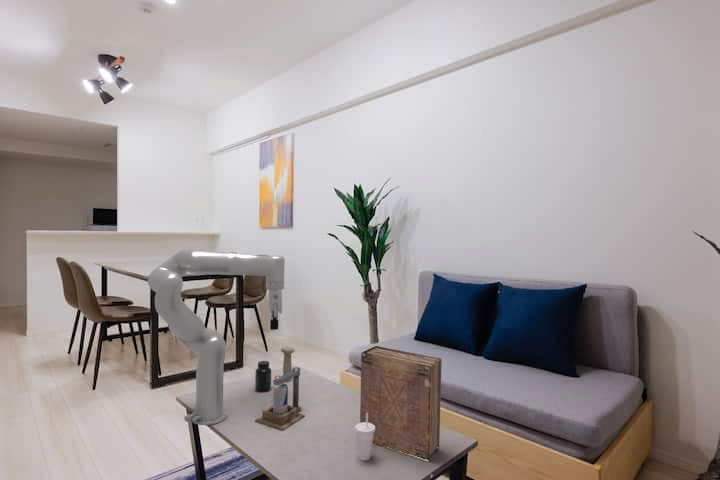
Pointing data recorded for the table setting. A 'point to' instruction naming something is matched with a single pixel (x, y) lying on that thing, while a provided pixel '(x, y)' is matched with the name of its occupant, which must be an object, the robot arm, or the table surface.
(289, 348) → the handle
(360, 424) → the smoothie
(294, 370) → the lever
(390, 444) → the book
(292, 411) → the collar base
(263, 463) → the table surface
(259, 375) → the supplement bottle
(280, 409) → the energy drink
